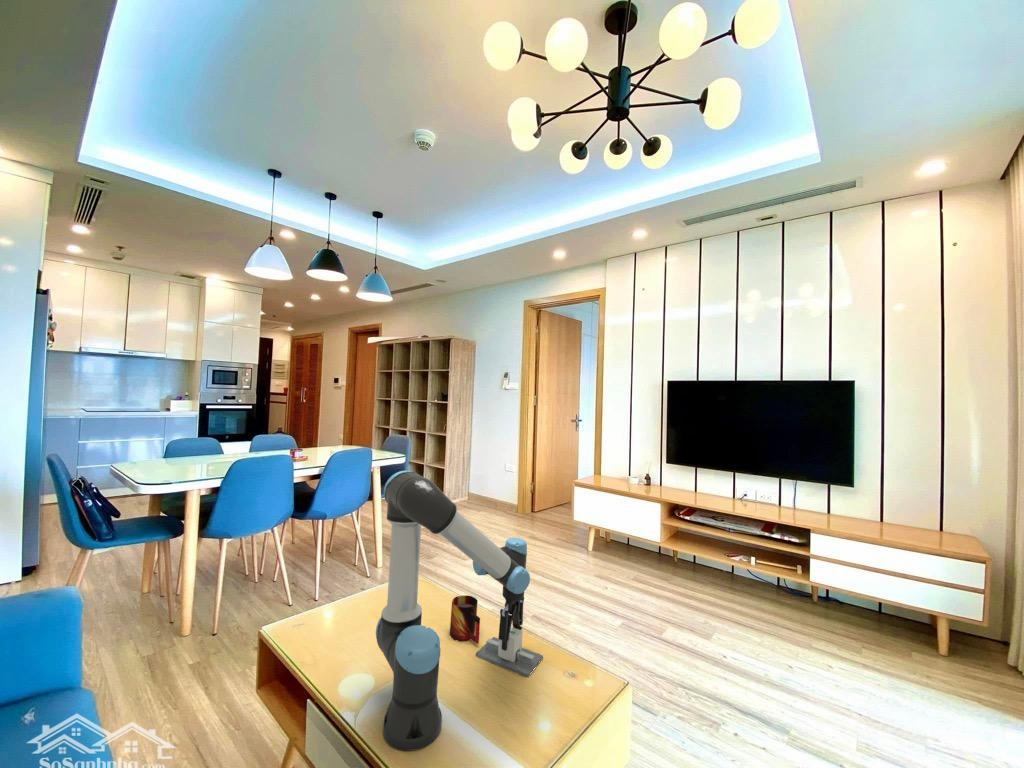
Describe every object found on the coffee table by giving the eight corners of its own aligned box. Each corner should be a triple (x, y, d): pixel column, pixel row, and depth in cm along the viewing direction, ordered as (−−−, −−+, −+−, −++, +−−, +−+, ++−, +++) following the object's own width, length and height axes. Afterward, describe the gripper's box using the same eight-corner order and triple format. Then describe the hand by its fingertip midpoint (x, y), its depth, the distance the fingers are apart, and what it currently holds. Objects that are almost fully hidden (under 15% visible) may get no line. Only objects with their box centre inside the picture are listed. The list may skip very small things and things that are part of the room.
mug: (477, 647, 146) (479, 613, 146) (444, 636, 151) (446, 603, 152) (489, 634, 154) (491, 602, 155) (458, 624, 160) (460, 593, 161)
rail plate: (527, 677, 131) (528, 668, 131) (475, 656, 141) (476, 647, 141) (542, 658, 142) (543, 649, 142) (493, 639, 151) (493, 631, 151)
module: (513, 662, 137) (514, 638, 138) (497, 655, 140) (499, 633, 140) (521, 653, 142) (522, 630, 143) (506, 647, 145) (507, 625, 146)
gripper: (510, 598, 132) (505, 672, 131) (535, 578, 149) (531, 643, 148) (490, 592, 136) (485, 663, 135) (516, 573, 153) (512, 636, 151)
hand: (509, 653), depth 141 cm, fingers closed on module, 6 cm apart
